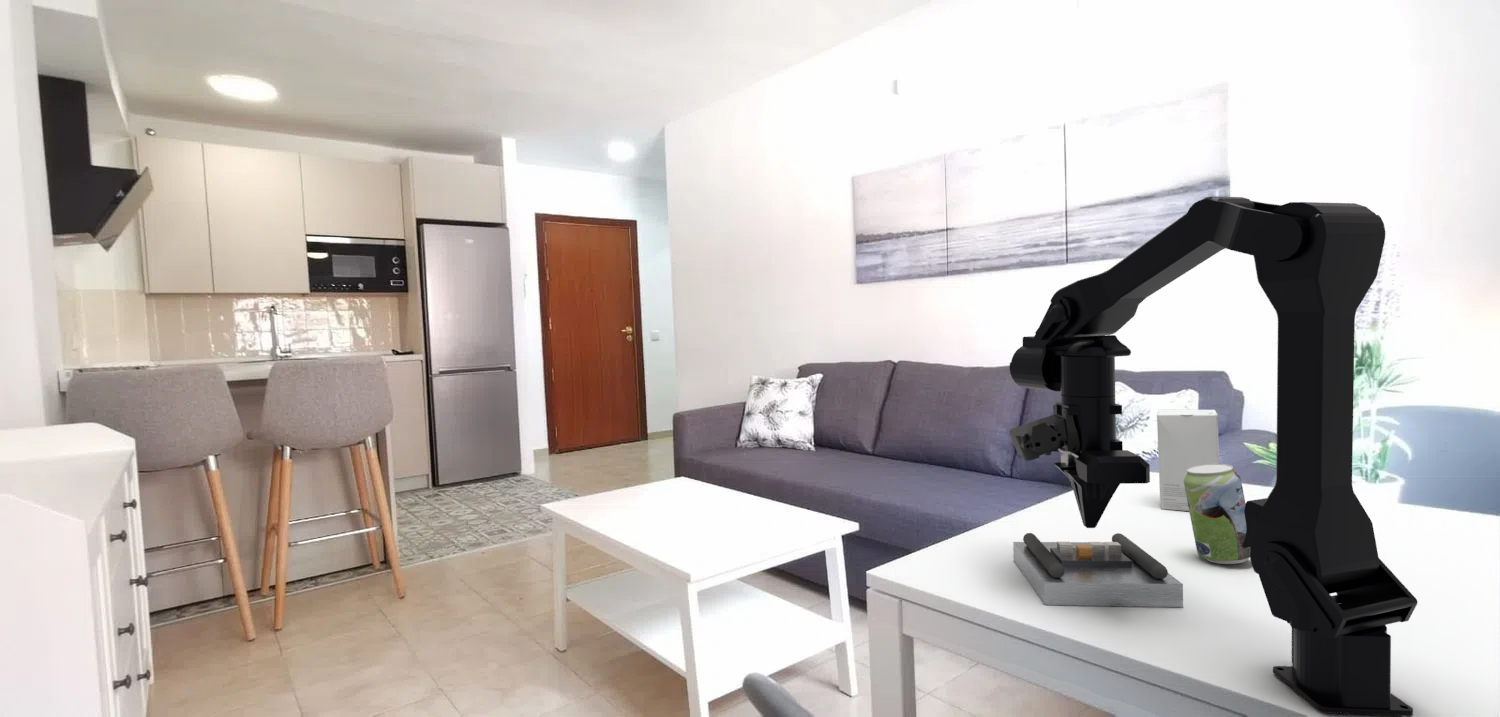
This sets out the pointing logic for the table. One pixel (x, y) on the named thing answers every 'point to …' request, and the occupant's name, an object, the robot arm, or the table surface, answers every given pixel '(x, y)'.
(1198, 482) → the beverage can
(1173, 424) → the skincare box
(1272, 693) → the table surface
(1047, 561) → the dark grey rounded bar
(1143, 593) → the breaker panel
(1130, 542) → the dark grey rounded rod
